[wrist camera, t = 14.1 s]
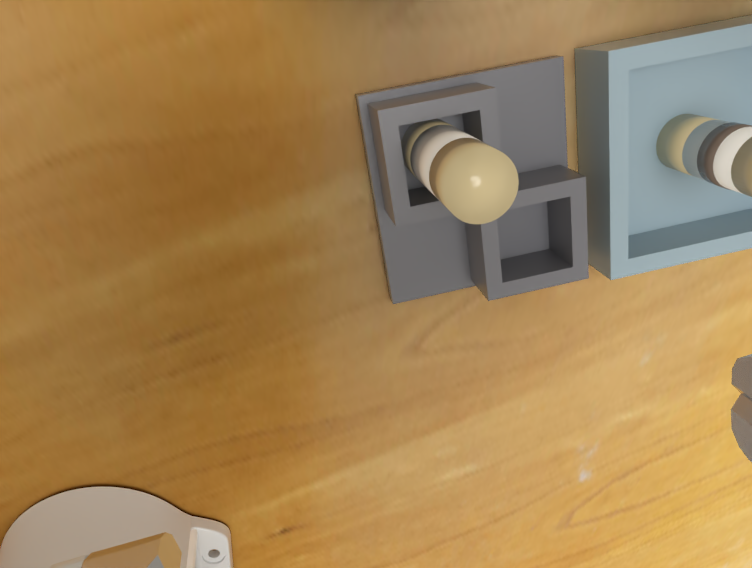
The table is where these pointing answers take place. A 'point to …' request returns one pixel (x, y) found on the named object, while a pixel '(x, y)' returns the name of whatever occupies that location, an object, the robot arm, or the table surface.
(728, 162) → the fuse
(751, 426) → the robot arm
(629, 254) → the parts tray
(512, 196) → the cylinder
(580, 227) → the fuse holder
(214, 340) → the table surface
